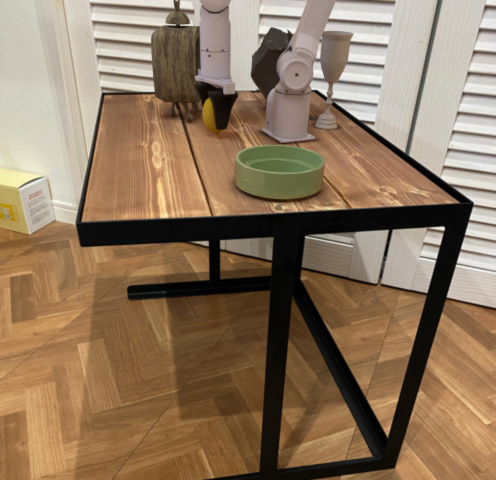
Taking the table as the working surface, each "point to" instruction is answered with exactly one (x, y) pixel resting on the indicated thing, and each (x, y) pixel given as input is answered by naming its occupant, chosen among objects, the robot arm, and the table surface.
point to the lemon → (210, 117)
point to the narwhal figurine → (269, 61)
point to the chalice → (332, 68)
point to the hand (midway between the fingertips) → (216, 125)
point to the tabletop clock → (176, 61)
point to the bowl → (279, 171)
